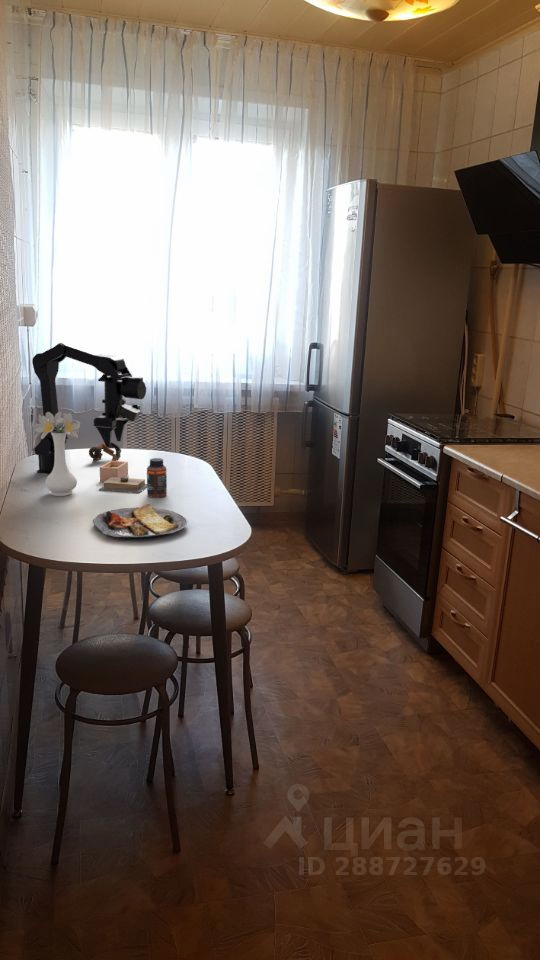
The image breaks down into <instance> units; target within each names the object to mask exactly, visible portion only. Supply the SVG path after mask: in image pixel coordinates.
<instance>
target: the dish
mask: <svg viewBox="0 0 540 960" xmlns="http://www.w3.org/2000/svg"><path fill="white" fill-rule="evenodd" d="M128 476H129V462H128V461H122V460H121V461H120V460H116V461H111V460H110V461H108V462H107V463H104V464H103V465H101V466H99V481H100V482H105V481H107V480H108V479H110V478H111V477H118V478H121V477H128Z"/></svg>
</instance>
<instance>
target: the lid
mask: <svg viewBox="0 0 540 960" xmlns="http://www.w3.org/2000/svg"><path fill="white" fill-rule="evenodd" d="M145 484H146V479H144V478H143V479H142V478H133V477H132V478H131V477H130V478H129V477H128V476H126V477H121V478H118V477H111V478H110V479H108V480H107V481H103V486H104V488H109V489H123V490H137V491H138V490H139V489H140V488H142V487H143V486H144V485H145Z"/></svg>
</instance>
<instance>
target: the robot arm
mask: <svg viewBox="0 0 540 960" xmlns="http://www.w3.org/2000/svg"><path fill="white" fill-rule="evenodd" d="M66 358H68V359H71V360H75V361H77V362H80V363H83V364H86V365H90V366H92V367H94V368H96V369H95V370H97V371H98V372H100V373H101V374H102V375H101V376H100V377H99V378H98V379H97V380H98V382H101V383H102V382H104V386H103V387H104V388H103V389H104V398H102V401H101V402H102V404H104V411H102V412H101V414H102V415H98V416H96V417H95V418H94V419H93V427H94V428H95V429H97V431H98V433H99V434H100V436H101V439H102V441H103V442H104V443H105V445H106V447H110V443H111V442H112V436H113V435H112V434H113V432H114V435H115V439H116V441H117V442H121V441H122V437H123V434H124V429H125V427H126V425H128V423H130V422H132V423H133V422H135V421H138V420H139V417H140V415H141V414H142V410H141V405H140V404H138V403H134V404H132V405H131V404H127V400H126V399H135V400H143V399H144V398H145V397H146V395H147V387H146V383H145V382H144V378H143V377H141V376H139V377H133V374H132V373H131V372H130V370H129V368H128V367H127V366H126V362H125V359H124V358H123V357H121V356H120V355H111V354H102V353H101V354H100V353H97V352H95V351H91V350H89V349H86V348H84V347H80V346H77V345H74V344H72V343H70V342H60V343H57V344H56V345H55V346H53V347H50V348H49V349H47V350H44V351H43V352H40V353H39V352H38V353H36V354H35V355H34V356H33V357H32V358H31V359H32V360H31V361H32V362H31V363H32V368H33V372H34V374H35V375H36V377H37V378H38V380H39V385H40V396H41V404H42V405H41V406H42V416H45V417H46V413H47V412H50V413H51V414H52V415H53V416H54V419H55V415H56V414H57V413H58V412H59V406H58V396H57V395H58V394H57V385H56V378H57V375H58V373H59V370H60V369H59V367H60V366H59V365H60V363H61V362H63V361H64V360H65V359H66ZM123 397H124V398H123ZM125 398H126V399H125ZM54 428H56V427H54ZM56 429H57V428H56ZM60 429H61V427H60V428H59V431H60ZM53 431H57V430H53ZM42 433H43V432H42ZM42 433H41V434H42ZM41 434H40V435H41ZM68 439H69V438H68V434H66V437H65V445H66V444H67V440H68ZM33 451H34V453H35V455H36V456H38V469H37V470H36V472H37V473H42V474H43V473H44V474H51V472H52V470H53V468H54V462H55V447H54V440H53V436H52V435H51V432H49V433H48V434H47V435H46V436H45V437H44V438H43V439H41V438H40V441H39V442H38V444H37V445H36V446H35V447H34V448H33Z"/></svg>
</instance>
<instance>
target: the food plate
mask: <svg viewBox="0 0 540 960" xmlns="http://www.w3.org/2000/svg"><path fill="white" fill-rule="evenodd" d="M91 523H92V524H93V525H94V526H95V527H96V529H98V530H99V531H101V532H102V534H104V535H106V536H110V537H111V536H112V537H114V538H133V539H135V538H137V539H138V538H139V539H140V538H150V537H157V536H161V535H163V536H164V535H167V534H168V535H169V534H173V533H175V532H178V531H181V530H182V529H184V528H185V527H186V526H187V525H188V520H187V519H186V518H185V517H184V516H183V515H182V514H180V513H178V512H175V511H173V510H169V509H165V508H159V507H158V508H156V507H153V506H152V507H151V504H150V503H147V504H145V505H142V506H140V507H139V506H138V507H137V506H135V507H126V508H125V507H124V508H117V509H111V510H106V511H105V512H101V513H99V514H97V515H96V516H95V517H94V518H93V520H92V521H91ZM135 523H136V524H135ZM120 531H121V532H120ZM119 533H121V534H119ZM150 533H153V534H150ZM129 534H130V535H129ZM131 534H132V535H131Z"/></svg>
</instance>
